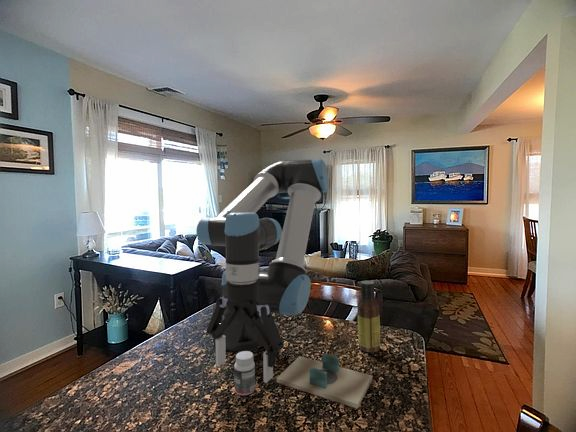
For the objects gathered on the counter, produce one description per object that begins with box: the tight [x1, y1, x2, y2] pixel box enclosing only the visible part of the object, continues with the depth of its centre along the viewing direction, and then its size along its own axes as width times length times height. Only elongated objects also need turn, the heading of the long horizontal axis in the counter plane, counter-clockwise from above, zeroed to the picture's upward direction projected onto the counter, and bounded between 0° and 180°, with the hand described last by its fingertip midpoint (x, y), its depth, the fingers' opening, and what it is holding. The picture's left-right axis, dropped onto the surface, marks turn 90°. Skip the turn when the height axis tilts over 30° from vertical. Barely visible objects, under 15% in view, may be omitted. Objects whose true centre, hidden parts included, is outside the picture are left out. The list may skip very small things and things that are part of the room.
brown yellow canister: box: [357, 280, 381, 354], centre depth 93 cm, size 7×6×20 cm
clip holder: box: [276, 352, 373, 410], centre depth 77 cm, size 20×12×4 cm, turn 61°
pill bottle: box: [233, 350, 256, 396], centre depth 74 cm, size 5×5×8 cm
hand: (243, 371), depth 74 cm, fingers open, 13 cm apart
